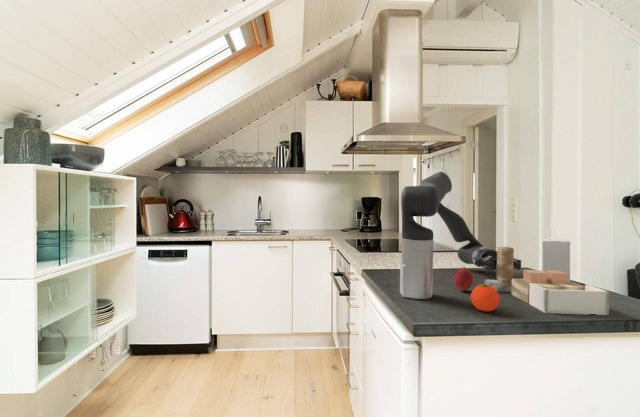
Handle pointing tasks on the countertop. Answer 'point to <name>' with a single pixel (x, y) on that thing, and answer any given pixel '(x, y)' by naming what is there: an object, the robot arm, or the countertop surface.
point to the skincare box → (556, 255)
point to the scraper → (503, 270)
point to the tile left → (534, 276)
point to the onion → (463, 279)
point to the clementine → (485, 297)
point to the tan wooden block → (522, 287)
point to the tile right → (556, 277)
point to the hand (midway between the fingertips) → (505, 266)
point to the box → (570, 300)
